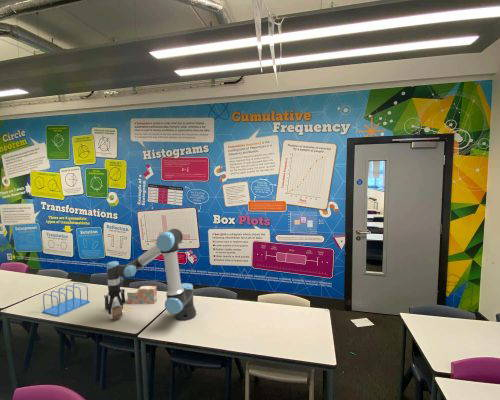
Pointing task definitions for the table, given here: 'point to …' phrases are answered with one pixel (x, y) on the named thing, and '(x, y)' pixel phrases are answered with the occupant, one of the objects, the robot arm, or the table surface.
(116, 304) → the grey block
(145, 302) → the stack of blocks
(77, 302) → the file sorter
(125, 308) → the envelope
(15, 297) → the table surface
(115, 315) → the walnut cube
